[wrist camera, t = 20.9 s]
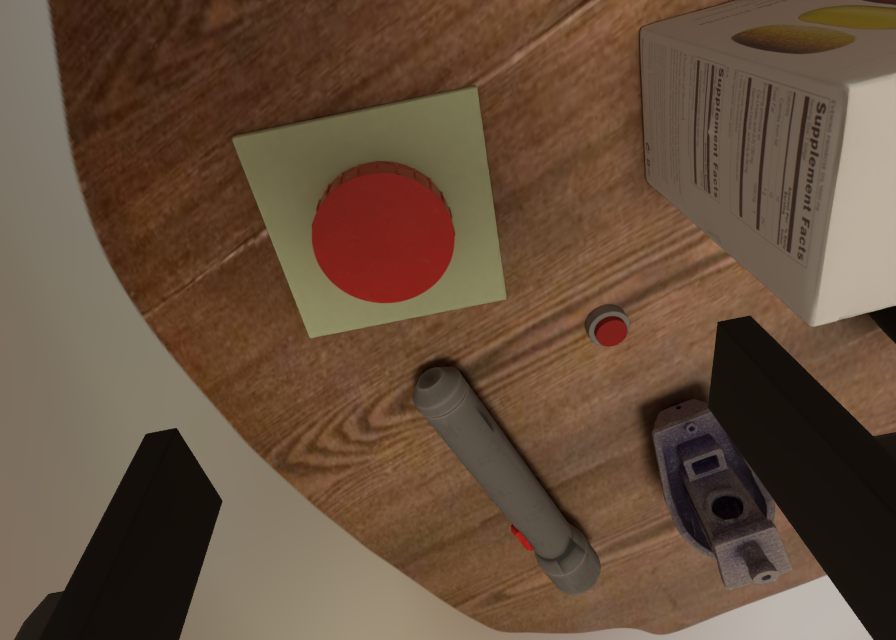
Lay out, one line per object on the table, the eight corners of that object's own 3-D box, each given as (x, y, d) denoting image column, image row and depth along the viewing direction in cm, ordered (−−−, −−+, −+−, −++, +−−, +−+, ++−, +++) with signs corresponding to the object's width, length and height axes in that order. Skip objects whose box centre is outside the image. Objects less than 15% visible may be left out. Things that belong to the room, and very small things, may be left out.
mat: (233, 135, 31) (230, 138, 31) (475, 84, 31) (477, 87, 30) (310, 334, 39) (309, 338, 38) (505, 295, 38) (507, 299, 38)
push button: (629, 330, 41) (636, 341, 40) (590, 344, 42) (596, 356, 40) (620, 298, 39) (628, 309, 38) (580, 313, 40) (586, 325, 39)
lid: (461, 274, 37) (465, 290, 35) (336, 297, 37) (333, 315, 35) (439, 147, 32) (442, 158, 30) (296, 175, 32) (291, 188, 30)
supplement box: (811, -25, 29) (1199, -13, 15) (793, 145, 34) (1072, 271, 20) (633, 26, 30) (848, 83, 16) (641, 185, 35) (810, 335, 21)
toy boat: (620, 407, 45) (693, 548, 34) (713, 369, 44) (820, 504, 33) (663, 507, 53) (734, 648, 42) (744, 478, 52) (838, 616, 41)
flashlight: (472, 366, 38) (418, 416, 37) (612, 568, 52) (576, 608, 50) (439, 344, 42) (390, 388, 41) (577, 536, 56) (543, 572, 55)
